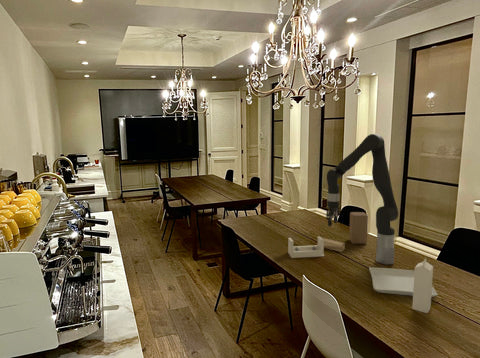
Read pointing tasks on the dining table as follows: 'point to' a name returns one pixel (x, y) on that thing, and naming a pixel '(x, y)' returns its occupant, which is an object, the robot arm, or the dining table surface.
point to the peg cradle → (306, 249)
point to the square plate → (394, 281)
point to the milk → (422, 287)
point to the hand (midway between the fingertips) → (332, 224)
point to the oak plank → (334, 245)
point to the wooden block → (358, 227)
